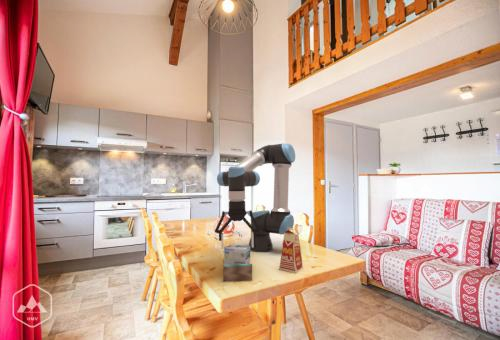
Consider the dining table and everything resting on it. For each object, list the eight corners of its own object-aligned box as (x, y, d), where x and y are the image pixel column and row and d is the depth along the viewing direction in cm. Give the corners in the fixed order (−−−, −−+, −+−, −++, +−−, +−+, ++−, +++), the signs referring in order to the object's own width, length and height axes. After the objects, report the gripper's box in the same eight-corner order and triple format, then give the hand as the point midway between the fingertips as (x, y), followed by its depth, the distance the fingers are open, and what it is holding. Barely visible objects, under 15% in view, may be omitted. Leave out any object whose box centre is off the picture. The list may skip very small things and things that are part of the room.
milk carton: (296, 273, 112) (296, 228, 113) (278, 269, 117) (277, 227, 118) (303, 267, 120) (303, 225, 121) (286, 264, 125) (285, 224, 125)
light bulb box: (251, 269, 113) (250, 245, 113) (246, 274, 106) (246, 249, 107) (229, 266, 116) (229, 243, 117) (223, 271, 110) (223, 247, 110)
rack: (246, 259, 133) (246, 246, 133) (252, 280, 104) (252, 264, 105) (224, 260, 132) (224, 247, 132) (223, 281, 103) (223, 265, 103)
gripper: (262, 198, 117) (263, 243, 117) (209, 200, 115) (210, 246, 114) (265, 200, 110) (266, 248, 109) (208, 201, 108) (209, 250, 107)
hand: (237, 247), depth 112 cm, fingers open, 13 cm apart
